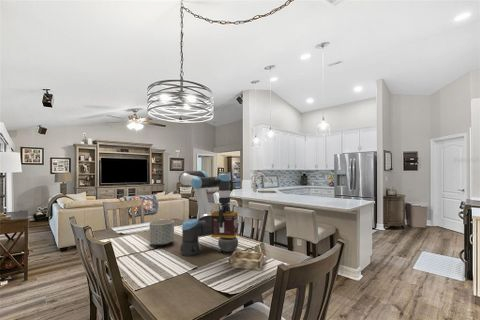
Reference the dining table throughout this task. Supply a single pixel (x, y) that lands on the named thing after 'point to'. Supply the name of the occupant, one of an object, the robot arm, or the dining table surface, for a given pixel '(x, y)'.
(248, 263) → the crate
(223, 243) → the bowl
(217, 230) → the supplement box
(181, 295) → the dining table surface
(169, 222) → the planter
